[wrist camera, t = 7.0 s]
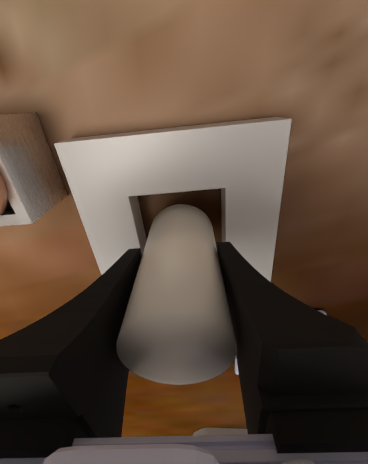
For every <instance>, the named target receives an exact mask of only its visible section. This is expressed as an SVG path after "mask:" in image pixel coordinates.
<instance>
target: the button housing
mask: <svg viewBox="0 0 368 464" xmlns="http://www.w3.org/2000/svg"><path fill="white" fill-rule="evenodd" d="M0 175H1V177H2V179H3V181H4V183H5V187H6V190H7V205H6V208H5V210H4V212H3V213H2V215H1V216H0V226H10V225H22V224H32V223H34V222H35V221H36V220H38V219H39V218H40V217H41V216H43V215H44V214H45V213H46V212H48V211H49V210H50V209H52V208H53V207H54V206H55V205H57V204H58V203H59V202H61V201H62V200H63V199H64V198H66V197H67V193H66V190H65V188H64V185H63V182H62V180H61V177H60V174H59V172H58V169H57V166H56V164H55V161H54V158H53V156H52V153H51V150H50V148H49V145H48V142H47V140H46V137H45V134H44V132H43V129H42V126H41V124H40V121H39V118H38V116H37V113H36V112H35V113H19V114H3V115H0Z"/></svg>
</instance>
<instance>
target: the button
mask: <svg viewBox="0 0 368 464" xmlns="http://www.w3.org/2000/svg"><path fill="white" fill-rule="evenodd" d="M6 205H7V190H6V187H5V183H4V181H3V179H2V177H1V175H0V216H1V215H2V213H3V212H4V210H5V208H6Z"/></svg>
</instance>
